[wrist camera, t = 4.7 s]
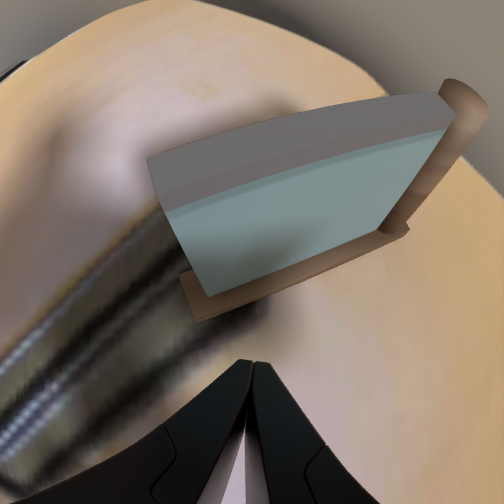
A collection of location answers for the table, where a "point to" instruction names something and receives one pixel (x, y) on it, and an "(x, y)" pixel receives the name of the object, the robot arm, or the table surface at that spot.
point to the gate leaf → (293, 183)
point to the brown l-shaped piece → (392, 228)
